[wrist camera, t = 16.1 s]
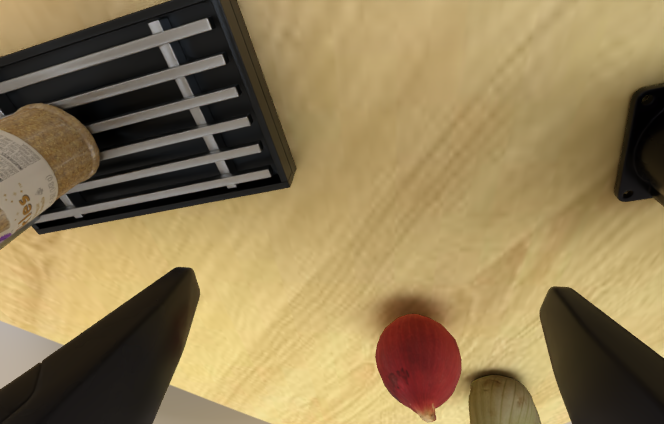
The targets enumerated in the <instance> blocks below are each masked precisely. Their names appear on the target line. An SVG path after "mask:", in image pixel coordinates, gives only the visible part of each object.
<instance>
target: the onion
mask: <svg viewBox="0 0 664 424" xmlns="http://www.w3.org/2000/svg"><path fill="white" fill-rule="evenodd" d="M375 357H376V363H377V368H378V371H379V373H380V376H381V378H382V380H383V383H384V385H385V387H386V388H387V390H388V391H389V392H390V394H391V395H392V396H393V397H394V398H395V399H397V400H398V401H399V402H400V403H402V404H403V405H405V406H407V407H409V408H410V409H412V410H413V411H414V412H416V413H417V414H418V415H419V416H420V417H421V418H422V420H424V421H426V422H433V421H435V420H436V415H435V408H437V407H439V406H441V405H442V404H443V403H444V402H445V401H447V400H448V399H449V397H450V396H451V395H452V394H453V392H454V390H455V388H456V385H457V383H458V380H459V378H460V374H461V356H460V352H459V348H458V346H457V343H456V340H455V339H454V338H453V336H452V335H451V334H450V333H449V332H448V331H447V330H446V329H445V328H444V327H443V326H442V325H441V324H440V323H438V322H436V321H434V320H432V319H431V318H428V317H425V316H422V315H419V314H413V313H412V314H407V315H404V316H401V317H399V318H397V319H396V320H394V321H393V322H392V323H391V324H390V325H388V326H387V327H386V328H385V329H384V331H383V333H382V334H381V336H380V339H379V341H378V344H377V349H376V356H375Z"/></svg>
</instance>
